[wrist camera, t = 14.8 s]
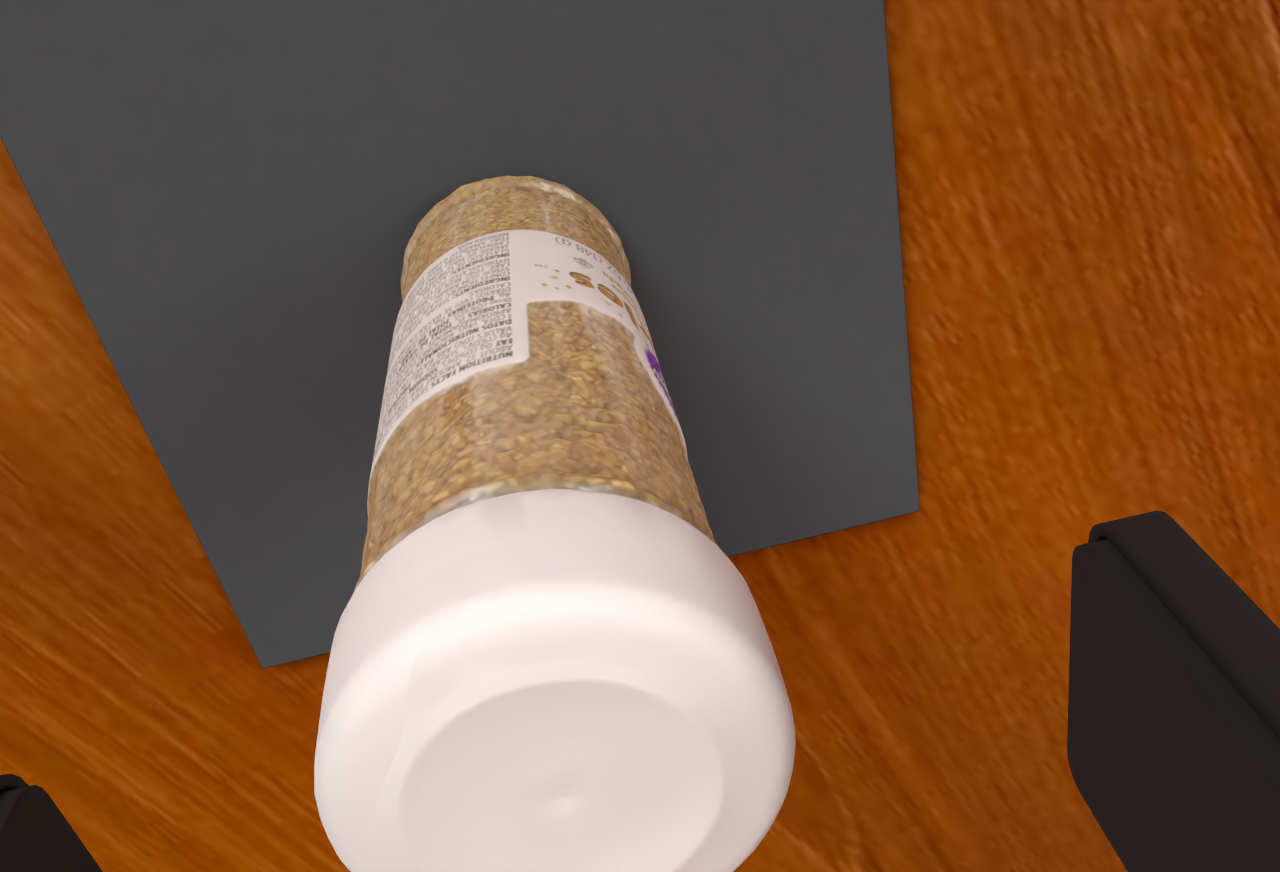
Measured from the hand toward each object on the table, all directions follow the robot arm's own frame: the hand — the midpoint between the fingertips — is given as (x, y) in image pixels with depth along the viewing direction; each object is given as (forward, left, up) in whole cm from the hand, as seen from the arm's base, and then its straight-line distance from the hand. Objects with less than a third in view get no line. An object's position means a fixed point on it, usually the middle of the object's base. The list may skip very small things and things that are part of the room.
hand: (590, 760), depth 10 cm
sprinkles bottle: (0, 0, -14) cm, 14 cm away
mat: (0, 0, -14) cm, 14 cm away
